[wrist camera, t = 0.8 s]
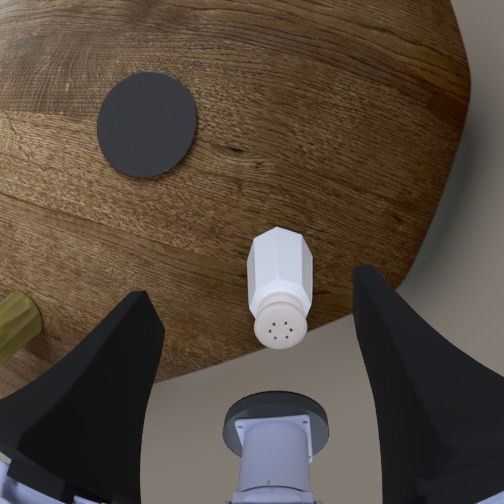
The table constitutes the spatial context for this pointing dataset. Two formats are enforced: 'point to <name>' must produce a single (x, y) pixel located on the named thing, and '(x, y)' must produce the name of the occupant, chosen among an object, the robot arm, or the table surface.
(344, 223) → the table surface
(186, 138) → the slate coaster
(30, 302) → the vase
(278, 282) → the pepper shaker
